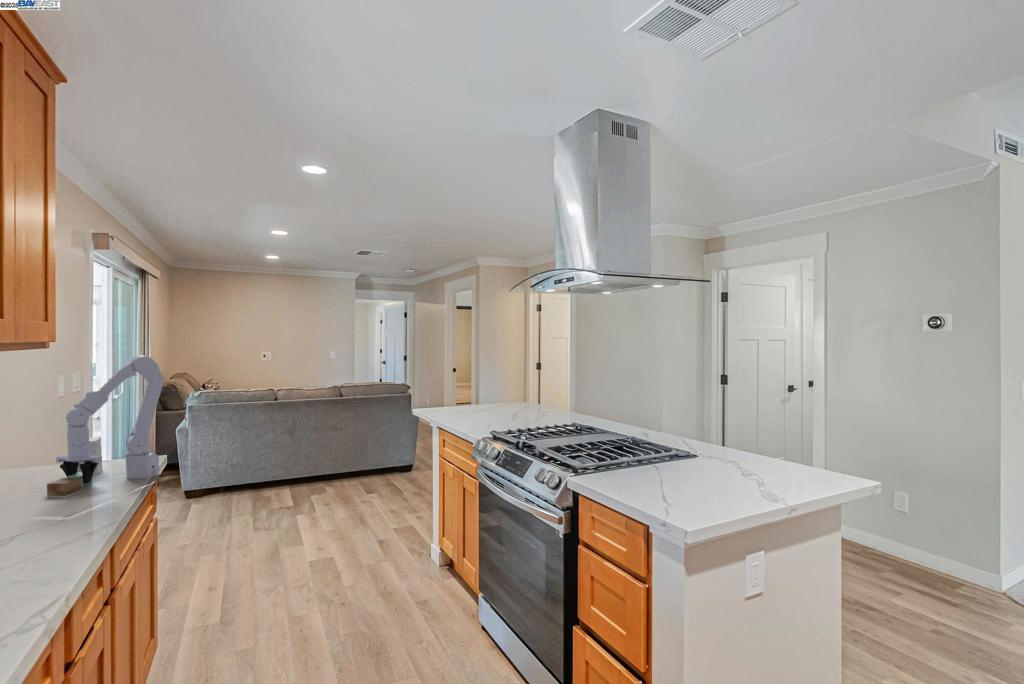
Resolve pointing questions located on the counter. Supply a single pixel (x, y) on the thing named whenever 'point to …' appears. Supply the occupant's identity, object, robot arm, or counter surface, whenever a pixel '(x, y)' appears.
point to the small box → (94, 453)
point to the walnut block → (64, 487)
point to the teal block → (79, 475)
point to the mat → (63, 496)
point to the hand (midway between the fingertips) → (80, 483)
